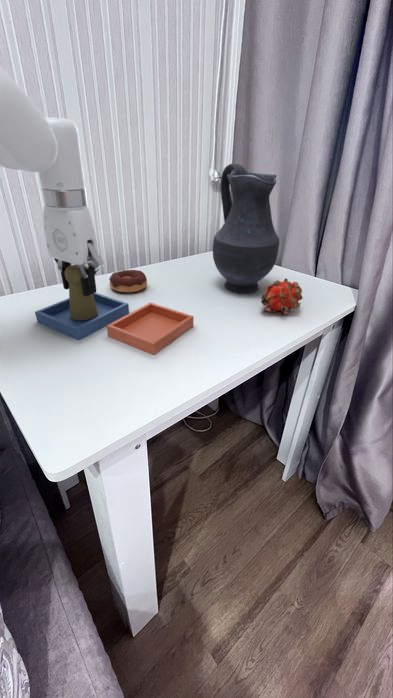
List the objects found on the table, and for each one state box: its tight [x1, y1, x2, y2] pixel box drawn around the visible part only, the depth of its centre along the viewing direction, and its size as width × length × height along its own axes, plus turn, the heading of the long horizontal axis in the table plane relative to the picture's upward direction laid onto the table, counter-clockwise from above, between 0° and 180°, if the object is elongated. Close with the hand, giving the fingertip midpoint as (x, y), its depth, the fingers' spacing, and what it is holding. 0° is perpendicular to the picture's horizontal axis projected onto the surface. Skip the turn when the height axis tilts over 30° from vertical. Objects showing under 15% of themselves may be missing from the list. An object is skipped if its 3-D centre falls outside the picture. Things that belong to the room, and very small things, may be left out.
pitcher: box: [212, 163, 280, 295], centre depth 87 cm, size 17×21×30 cm
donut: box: [108, 269, 148, 293], centre depth 89 cm, size 10×10×4 cm
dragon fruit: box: [260, 278, 304, 315], centre depth 80 cm, size 8×8×12 cm
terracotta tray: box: [106, 302, 195, 356], centre depth 70 cm, size 14×12×2 cm
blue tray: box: [34, 291, 130, 341], centre depth 74 cm, size 15×13×2 cm
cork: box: [64, 264, 98, 320], centre depth 71 cm, size 6×6×11 cm
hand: (80, 289), depth 71 cm, fingers closed on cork, 5 cm apart
